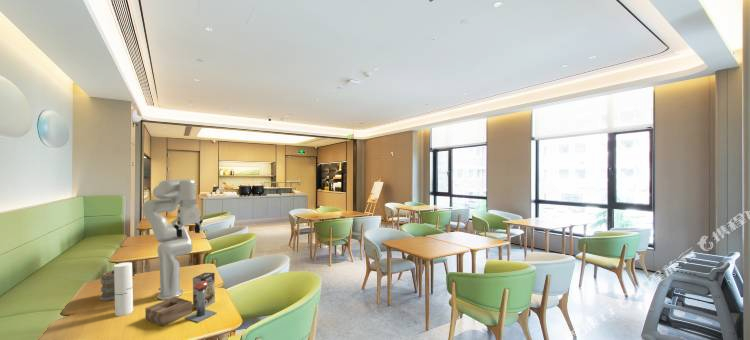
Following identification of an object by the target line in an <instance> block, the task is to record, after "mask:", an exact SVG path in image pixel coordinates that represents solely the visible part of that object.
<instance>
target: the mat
mask: <svg viewBox="0 0 750 340" xmlns="http://www.w3.org/2000/svg"><path fill="white" fill-rule="evenodd" d="M216 314H218V313H217V312H215V311H212V310H210V309H206V308H205V315H203V316H200V317H198V316H197V311H196V312H192V313H191V314H189V315H187V316H185V317H184V319H185V320H188V321H192V322H194V323H200V322H203V321H204V320H206V319H208V318H211V317H212V316H215V315H216Z"/></svg>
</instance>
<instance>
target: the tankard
mask: <svg viewBox="0 0 750 340" xmlns="http://www.w3.org/2000/svg"><path fill="white" fill-rule="evenodd" d="M135 274H136V273H135V272H133V271H132V277H134V276H135ZM101 276H102V277H101V280H100V284H101V285H102V287H101V288H100V292H101V293H102V294H101V295H100V296H99V300H100V301H104V302H106V301H107V302H109V301H113V300H114V301H115V285H114V269H113V270H109V271H105V272H104V273H103V274H102V275H101Z"/></svg>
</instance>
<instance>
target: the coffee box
mask: <svg viewBox="0 0 750 340" xmlns="http://www.w3.org/2000/svg"><path fill="white" fill-rule="evenodd" d="M215 275H216V273H215V272H203V273H201V274H199V275H197V276H194V277H192V309H197V289H194V283H196V282H199V281H207V282H208V286H207V287H206V288H205V308H207V307H209V306H210V305H212V304H213V303H215V302H216V286H215V279H216V276H215Z"/></svg>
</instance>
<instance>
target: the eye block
mask: <svg viewBox="0 0 750 340" xmlns="http://www.w3.org/2000/svg"><path fill="white" fill-rule="evenodd" d="M144 309H145V311H144V312H145V321H146V322H150V323H153V324H156V325H158V326H160V327H164V326H167V325H169V324H171V323H174V322H176V321H178V320H180V319H182V318H185V317H187V316H189V315H191V314H193V300H188V299H184V298H180V297H173V298H170V299H166V300H162V301H160V302H158V303H155V304H152V305H149V306H147V307H145V308H144Z"/></svg>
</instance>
